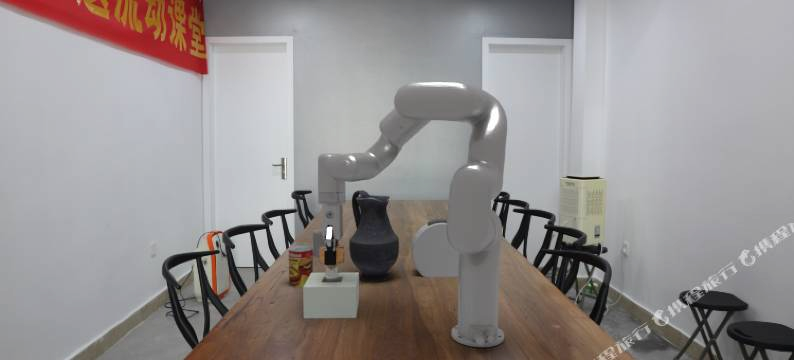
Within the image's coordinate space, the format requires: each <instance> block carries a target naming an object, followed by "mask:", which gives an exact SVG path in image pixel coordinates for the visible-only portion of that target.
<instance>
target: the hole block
mask: <svg viewBox="0 0 794 360" xmlns="http://www.w3.org/2000/svg"><path fill="white" fill-rule="evenodd" d="M359 286H360V272H355V271H354V272H353V271H352V272H338V282H326V272H313V273H311V274H310V276H309V278H308V280H307V281H306V283H305V285H304V287H302V290H303V291H302V295H303V298H302V299H303V301H302V303H303V319H357V315H358V309H359V303H360V287H359Z"/></svg>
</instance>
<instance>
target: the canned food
mask: <svg viewBox="0 0 794 360" xmlns="http://www.w3.org/2000/svg"><path fill="white" fill-rule="evenodd" d="M311 273H314V255H313V246H311V245H296V246H291V247H289V248H288V281H289V282H288V286H290V287H291V288H303V287H304V285H305V283H306V281H307V280H308V278H309V276H310V274H311Z"/></svg>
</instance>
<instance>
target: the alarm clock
mask: <svg viewBox="0 0 794 360" xmlns="http://www.w3.org/2000/svg"><path fill="white" fill-rule="evenodd" d="M446 227H447V218H435V219H430V220H429V221H427V223H425V224H424V225H423V226H421V227H420V228H419V229H418V230H417V232H416V233H415V234H414V236H413V238H412V241H411V247H410V251H411V253H410V254H411V258H412V262H413V264H414V267H415V269H416V270H417V272H419V274H420V275H421V276H422V277H423V278H450V277H451V278H454V277H455V278H458V277H459V255H460V253H459V252H457V251H456V250H455V249H453V247H452V246H451V245H450V243H449V241H448V238H447V231H446Z"/></svg>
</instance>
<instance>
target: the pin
mask: <svg viewBox="0 0 794 360" xmlns="http://www.w3.org/2000/svg"><path fill="white" fill-rule="evenodd" d="M335 250H336V265H325V264H324V251H325V246H322V247H320V257H319V263H320V265H325V273H326V282H338V273H339V265H340V264H343V263H344V262H345V247H344V246H343V245H340V244H339V245H336V246H335Z"/></svg>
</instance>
